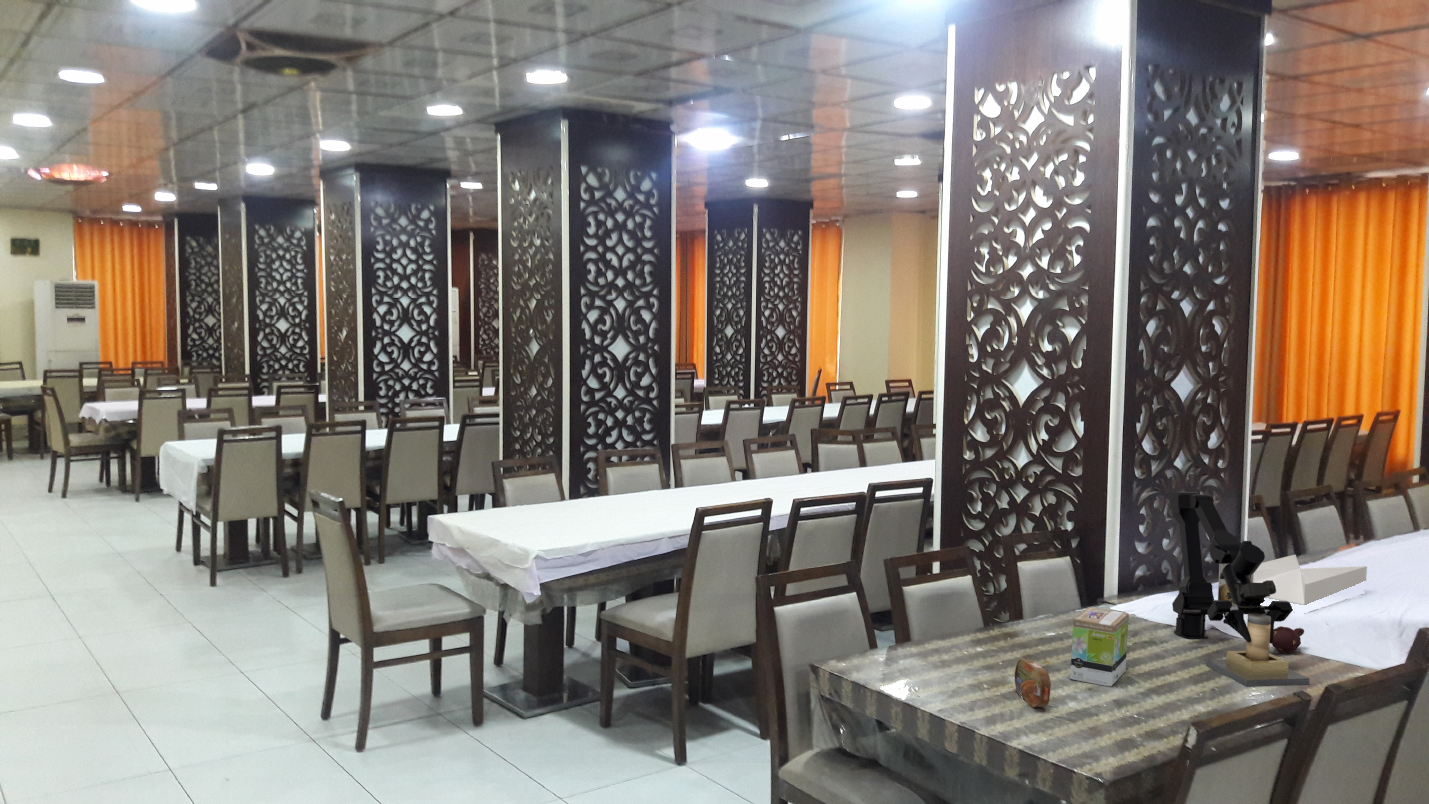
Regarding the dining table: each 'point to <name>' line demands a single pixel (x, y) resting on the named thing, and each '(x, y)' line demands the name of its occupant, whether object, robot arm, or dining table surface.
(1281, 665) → the socket
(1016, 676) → the tin
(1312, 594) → the building model
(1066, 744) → the dining table surface
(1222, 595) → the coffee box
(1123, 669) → the tea box
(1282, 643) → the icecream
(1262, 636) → the tan cylinder
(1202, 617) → the robot arm
